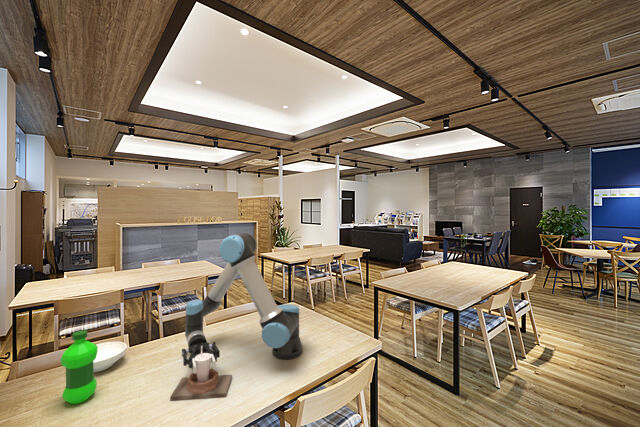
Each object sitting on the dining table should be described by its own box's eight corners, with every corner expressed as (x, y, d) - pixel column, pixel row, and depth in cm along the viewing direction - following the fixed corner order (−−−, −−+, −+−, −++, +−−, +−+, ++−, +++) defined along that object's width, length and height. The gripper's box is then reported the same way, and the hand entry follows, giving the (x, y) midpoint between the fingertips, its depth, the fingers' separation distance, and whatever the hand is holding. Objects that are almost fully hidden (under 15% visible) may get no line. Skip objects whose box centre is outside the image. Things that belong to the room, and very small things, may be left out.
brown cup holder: (232, 378, 118) (232, 366, 118) (225, 397, 106) (225, 383, 106) (182, 381, 116) (182, 369, 115) (170, 400, 104) (170, 387, 104)
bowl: (64, 385, 112) (64, 368, 112) (79, 362, 130) (78, 346, 130) (123, 372, 121) (123, 356, 121) (129, 352, 139) (129, 338, 139)
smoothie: (197, 376, 114) (197, 342, 113) (213, 376, 114) (213, 342, 114) (191, 386, 107) (191, 350, 107) (208, 385, 108) (208, 349, 108)
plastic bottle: (73, 412, 98) (73, 341, 97) (55, 404, 101) (54, 336, 101) (104, 394, 107) (103, 329, 107) (86, 388, 111) (86, 325, 110)
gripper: (219, 345, 131) (230, 370, 111) (173, 356, 121) (176, 385, 101) (219, 329, 131) (230, 351, 111) (173, 339, 121) (176, 364, 101)
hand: (205, 367), depth 106 cm, fingers closed on smoothie, 6 cm apart
